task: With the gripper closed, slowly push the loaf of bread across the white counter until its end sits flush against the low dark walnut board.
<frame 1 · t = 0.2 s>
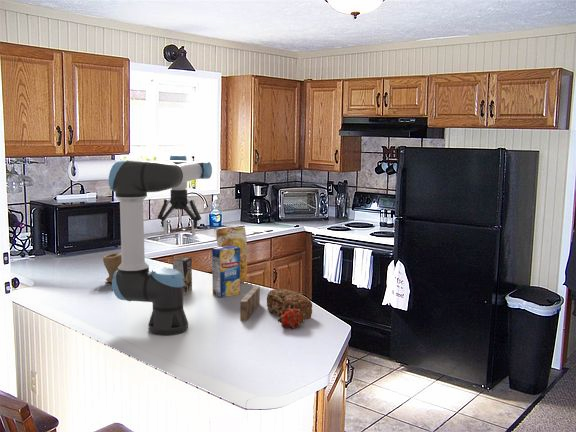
hand: (179, 234, 286), 28 cm above the worktop, fingers open, 13 cm apart
bread: (289, 315, 259), on the worktop
tan boot figurine: (118, 283, 308), on the worktop
beverage box: (226, 294, 290), on the worktop
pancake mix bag: (232, 282, 312), on the worktop
walnut board: (250, 311, 262), on the worktop
dragon fruit: (291, 327, 243), on the worktop
coffee box: (182, 292, 293), on the worktop
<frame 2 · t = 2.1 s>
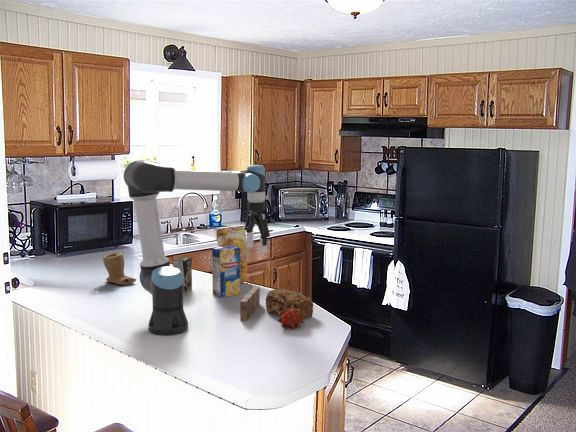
hand: (256, 249, 268), 25 cm above the worktop, fingers open, 13 cm apart
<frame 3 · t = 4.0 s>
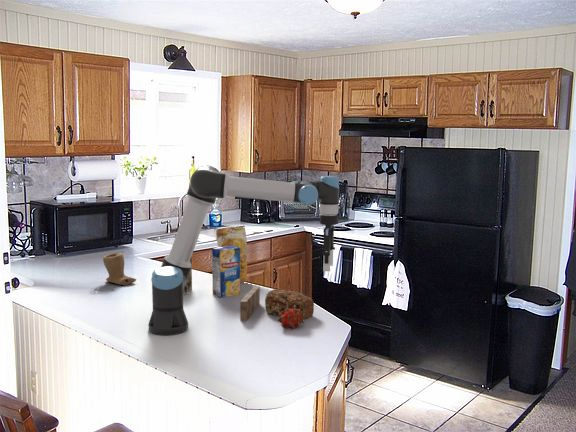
hand: (328, 268, 253), 21 cm above the worktop, fingers open, 10 cm apart
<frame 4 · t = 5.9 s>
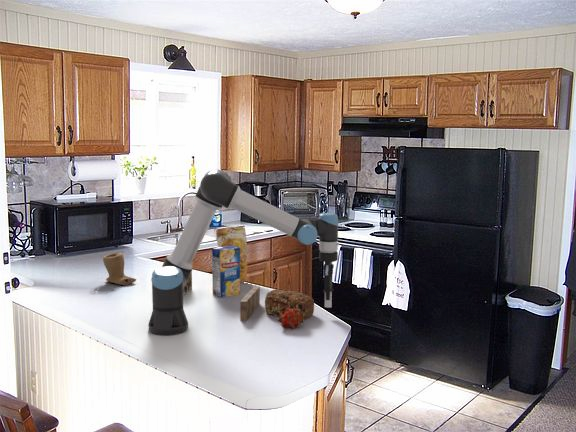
hand: (328, 306, 256), 4 cm above the worktop, fingers closed
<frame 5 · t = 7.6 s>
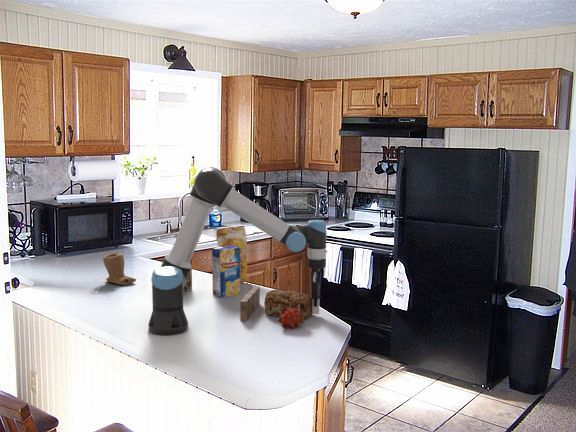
hand: (315, 313, 257), 1 cm above the worktop, fingers closed
bread: (289, 315, 259), on the worktop, touching gripper
everything else where it was.
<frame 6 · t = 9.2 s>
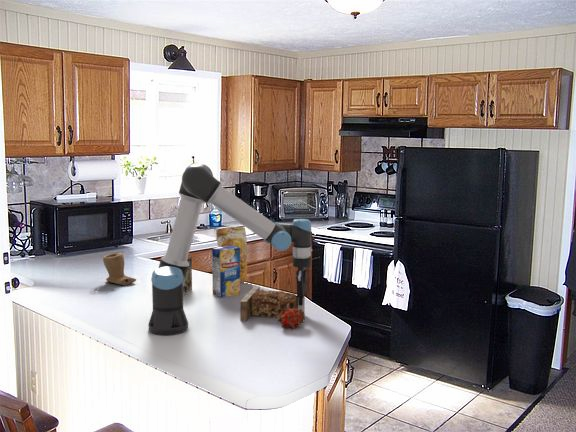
hand: (301, 311, 258), 1 cm above the worktop, fingers closed
bread: (275, 315, 260), on the worktop, touching gripper
everything else where it was.
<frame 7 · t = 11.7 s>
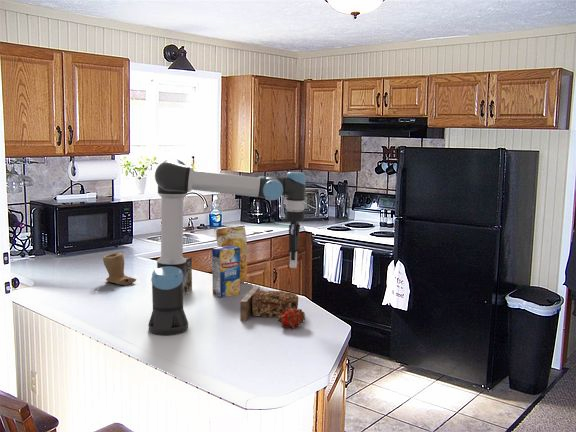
hand: (293, 267, 253), 21 cm above the worktop, fingers closed
bread: (275, 315, 260), on the worktop
everything else where it was.
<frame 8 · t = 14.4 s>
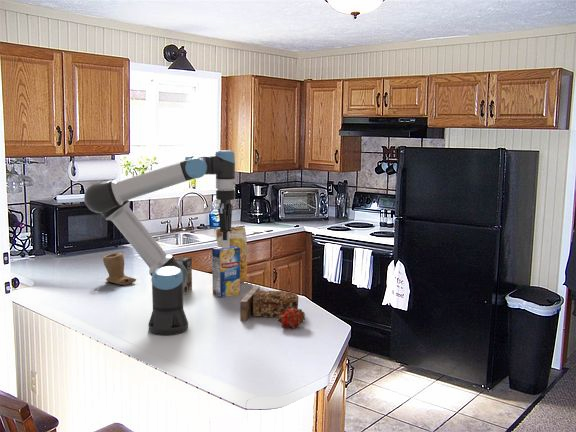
hand: (225, 247, 250), 29 cm above the worktop, fingers closed
nothing on the worktop moved.
at the end: bread inside the target area on the worktop beside the walnut board (0.8 cm from its centre), on the worktop; bread tilted 0° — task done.
